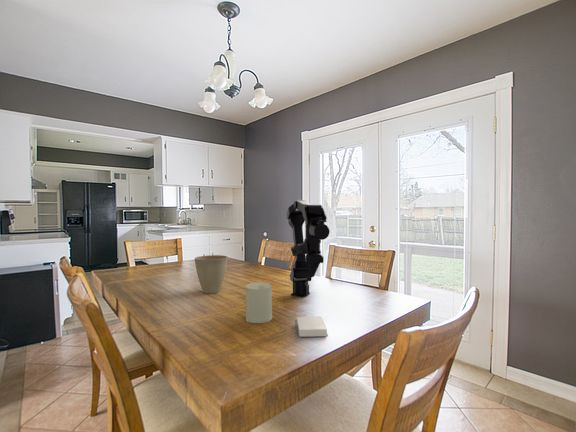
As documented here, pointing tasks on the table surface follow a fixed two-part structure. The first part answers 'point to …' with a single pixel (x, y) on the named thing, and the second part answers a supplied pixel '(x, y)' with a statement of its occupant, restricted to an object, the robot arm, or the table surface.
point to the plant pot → (211, 272)
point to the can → (258, 302)
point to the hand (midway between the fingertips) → (312, 276)
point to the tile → (311, 326)
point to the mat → (298, 332)
